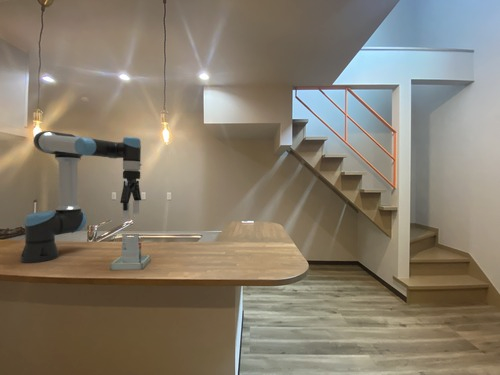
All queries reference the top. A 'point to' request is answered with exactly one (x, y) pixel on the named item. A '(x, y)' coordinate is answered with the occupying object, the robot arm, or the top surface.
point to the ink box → (131, 249)
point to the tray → (130, 264)
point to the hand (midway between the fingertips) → (131, 215)
